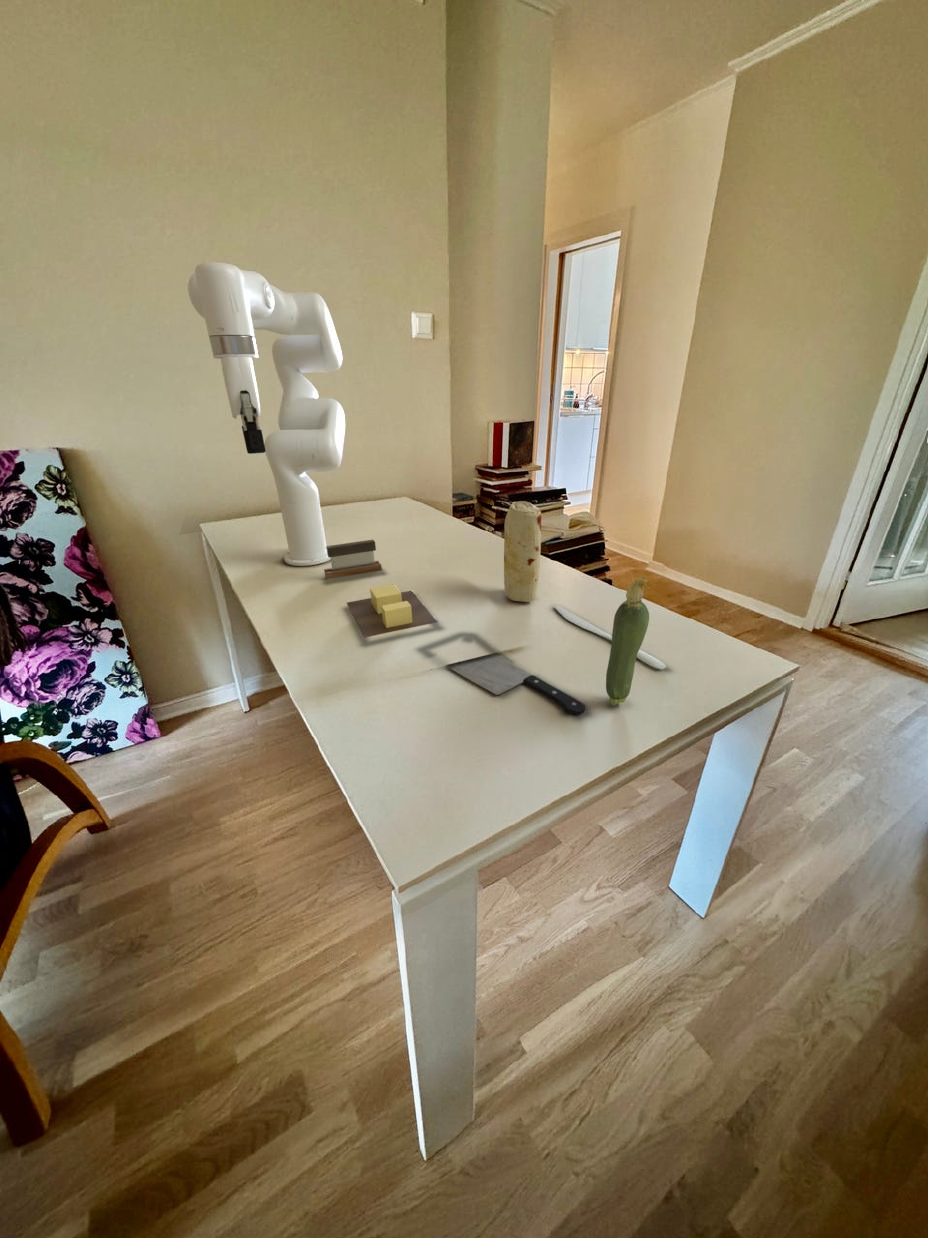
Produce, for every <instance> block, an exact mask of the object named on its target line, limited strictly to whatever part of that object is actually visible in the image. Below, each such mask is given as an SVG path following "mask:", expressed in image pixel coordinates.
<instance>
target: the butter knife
mask: <svg viewBox="0 0 928 1238" xmlns="http://www.w3.org/2000/svg"><path fill="white" fill-rule="evenodd" d="M554 609H555V610H556V611H557V612H558V613H559V614H560V615H561V616H562V617H563V618H564V619H565V620H567V621H569V622H571V623H572V624H574V625H576V626H578V627H580V628H582V629H584V630H587V631H589V632H591V633H593V634H596V635H599V636H600V637H603V638H605V639H606V640H609V641H610V642H612V634H610V633H608V632H606V631H604V630H602V629H600V628H599V627H597V626H595V625H594V624H592V623H591V622H588V621H586V620H585V619H583V618H581V617H580V616H578V615H576V614H575V613H572V612H571V611H570V610H569V611H568V610H567V609H565V608H563V606H560V605H555V606H554ZM636 659H639V660H640V661H641V662H643V663H645V664H646V665H649V666H651V667H652V668H654V669H658V670H664V669H666V668H667V665H666V664H665V663H664V662H663V661H661V660H659V659H658V658H657V657H654V656H652V655H651V654H649V653H647V652H645V651H643V650H641V649H639V651H638V654H637V657H636Z"/></svg>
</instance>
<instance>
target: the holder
mask: <svg viewBox="0 0 928 1238" xmlns="http://www.w3.org/2000/svg"><path fill="white" fill-rule="evenodd" d="M374 561H375V564H374V565H367V566H361V567H355V568H349V569H342V570H336V571H332V567H329V568H324V569H323V571H324V577H325V580H331V579H337V578H341V577H349V576H355V575H361V574H367V573H373V572H379V571H383V568H382V567H383V566H382V563H380V561H379V560H374Z"/></svg>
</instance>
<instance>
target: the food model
mask: <svg viewBox="0 0 928 1238" xmlns="http://www.w3.org/2000/svg"><path fill="white" fill-rule="evenodd" d="M503 537H504V538H503V539H504V540H503V541H504V543H503V585H504V591H505V594H506V595H505V596H506V597H508V599H509V600H511V601H513V602H525V603H530V602H533V601H534V600H535V599H536V597H537V592H538V587H539V579H540V567H541V566H540V565H541V549H542V511H541V510H540V508H539V507H538V506H536V505H534V504H532V503H531V502H529V501H526V500H520V501H519V500H518V501H515V502H512V503H511V504H509V508H508V511H507V513H506V515H505V519H504V536H503Z"/></svg>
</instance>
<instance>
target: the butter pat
mask: <svg viewBox="0 0 928 1238" xmlns="http://www.w3.org/2000/svg"><path fill="white" fill-rule="evenodd" d="M381 608H382V617H383V623H384V625H385V626H386V628H389V627H394V626H399V625H404V624H408V623H412V611H411V605H410V604H409V603H408V601H404V602H398V603H393V604H388V605H383V606H381Z"/></svg>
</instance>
